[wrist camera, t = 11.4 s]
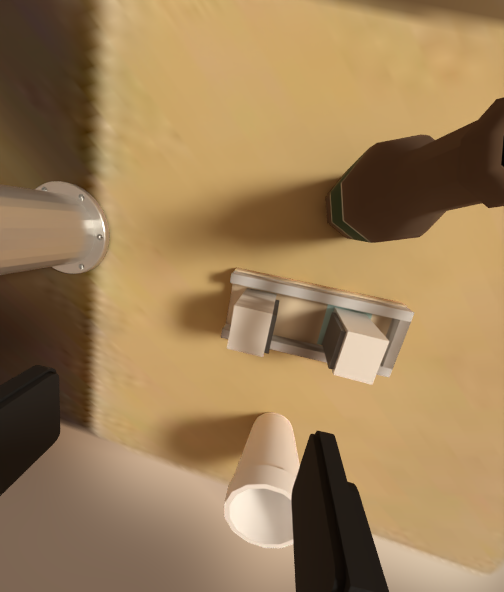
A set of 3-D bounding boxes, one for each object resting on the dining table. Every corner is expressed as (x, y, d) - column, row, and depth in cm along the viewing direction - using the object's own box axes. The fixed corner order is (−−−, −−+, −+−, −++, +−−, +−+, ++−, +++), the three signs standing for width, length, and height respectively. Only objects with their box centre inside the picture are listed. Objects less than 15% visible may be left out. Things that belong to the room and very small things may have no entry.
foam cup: (260, 393, 40) (246, 469, 27) (313, 421, 39) (324, 510, 27) (234, 436, 42) (211, 523, 30) (284, 462, 42) (282, 560, 30)
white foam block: (319, 340, 34) (328, 373, 27) (330, 306, 33) (343, 329, 25) (353, 349, 34) (372, 384, 26) (366, 314, 32) (389, 341, 25)
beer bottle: (314, 229, 32) (373, 234, 9) (335, 163, 30) (479, -43, 7) (375, 246, 32) (597, 293, 9) (401, 179, 30) (786, 12, 7)
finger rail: (226, 328, 38) (206, 361, 28) (237, 267, 35) (218, 281, 26) (379, 364, 36) (410, 411, 26) (402, 302, 33) (445, 331, 24)
